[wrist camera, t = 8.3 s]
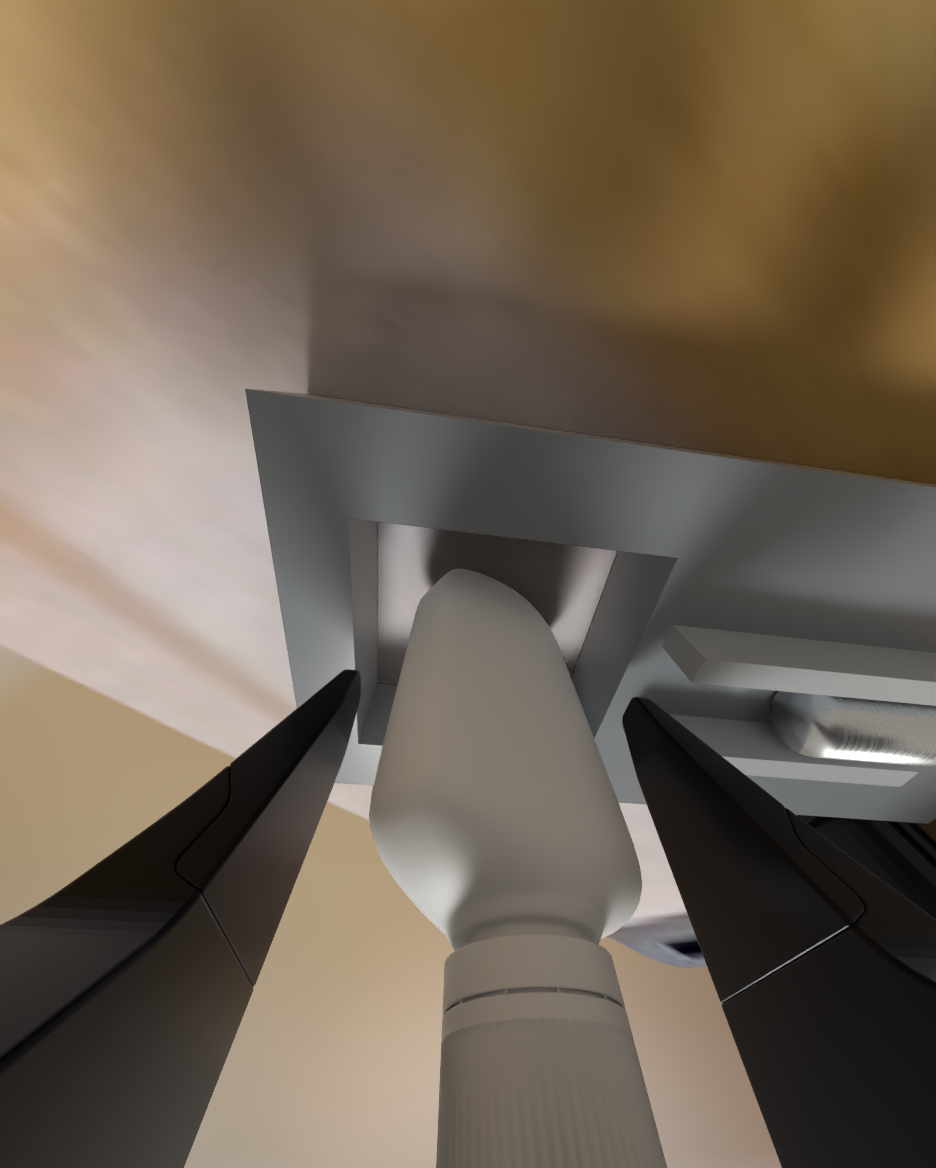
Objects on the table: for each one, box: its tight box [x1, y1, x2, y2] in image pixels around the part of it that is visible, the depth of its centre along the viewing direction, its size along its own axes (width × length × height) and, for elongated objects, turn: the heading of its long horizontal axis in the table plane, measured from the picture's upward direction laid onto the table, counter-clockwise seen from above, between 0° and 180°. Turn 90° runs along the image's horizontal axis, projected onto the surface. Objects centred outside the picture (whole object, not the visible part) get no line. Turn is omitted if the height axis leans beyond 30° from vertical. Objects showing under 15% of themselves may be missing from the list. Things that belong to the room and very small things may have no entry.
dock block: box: [245, 389, 936, 824], centre depth 12 cm, size 14×27×4 cm, turn 83°
